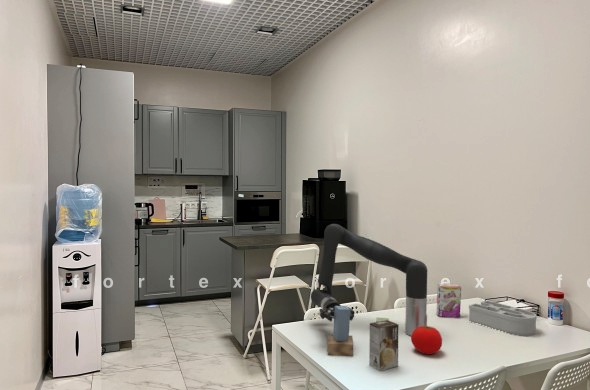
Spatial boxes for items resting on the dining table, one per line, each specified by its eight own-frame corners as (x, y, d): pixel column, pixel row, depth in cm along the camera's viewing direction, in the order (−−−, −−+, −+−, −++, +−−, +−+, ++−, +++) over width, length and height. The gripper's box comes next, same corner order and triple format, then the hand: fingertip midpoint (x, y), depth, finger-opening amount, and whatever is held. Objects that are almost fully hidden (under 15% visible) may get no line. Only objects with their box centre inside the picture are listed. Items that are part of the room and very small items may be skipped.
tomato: (438, 360, 165) (438, 333, 165) (407, 353, 172) (408, 327, 171) (444, 350, 175) (445, 325, 174) (415, 344, 181) (416, 320, 181)
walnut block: (352, 347, 177) (352, 335, 177) (353, 357, 168) (353, 344, 167) (328, 346, 178) (328, 334, 178) (327, 355, 168) (328, 343, 168)
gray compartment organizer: (486, 316, 222) (487, 300, 221) (542, 332, 199) (543, 314, 198) (468, 322, 212) (468, 305, 212) (524, 339, 189) (525, 320, 189)
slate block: (344, 336, 176) (346, 305, 176) (348, 341, 171) (350, 309, 171) (332, 336, 175) (334, 305, 175) (336, 341, 170) (338, 309, 170)
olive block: (387, 349, 175) (388, 318, 175) (388, 353, 170) (389, 322, 170) (375, 348, 176) (376, 317, 176) (376, 353, 171) (376, 321, 171)
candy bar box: (438, 317, 218) (439, 285, 218) (436, 314, 223) (436, 283, 223) (460, 318, 217) (461, 286, 217) (457, 315, 222) (458, 284, 222)
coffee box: (387, 360, 164) (388, 319, 164) (398, 366, 159) (399, 324, 158) (368, 364, 160) (369, 322, 160) (379, 371, 154) (380, 328, 154)
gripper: (315, 299, 186) (324, 310, 170) (346, 298, 189) (358, 308, 173) (315, 316, 186) (324, 328, 170) (346, 314, 189) (358, 327, 173)
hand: (341, 318), depth 172 cm, fingers open, 8 cm apart
